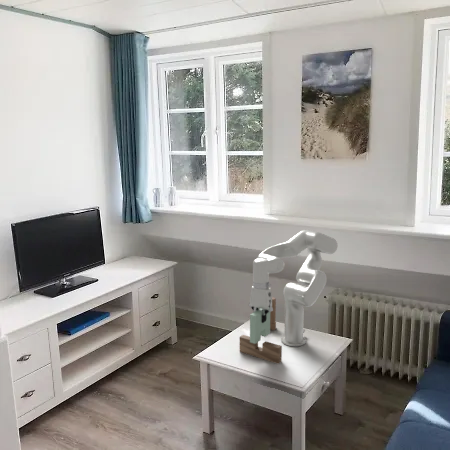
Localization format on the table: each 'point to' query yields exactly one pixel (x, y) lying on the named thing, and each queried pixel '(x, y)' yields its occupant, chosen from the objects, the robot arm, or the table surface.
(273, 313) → the wooden block
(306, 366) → the table surface
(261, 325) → the green slotted board
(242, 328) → the table surface
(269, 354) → the walnut slotted plate
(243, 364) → the table surface
